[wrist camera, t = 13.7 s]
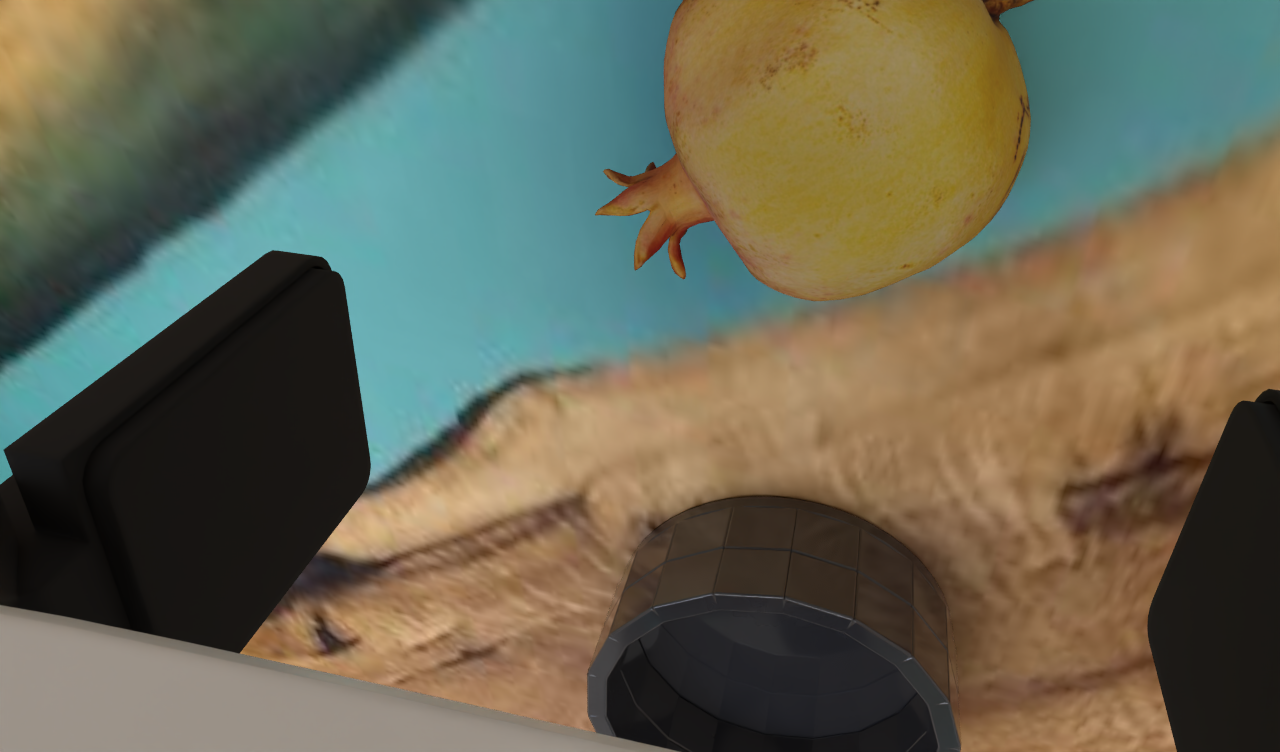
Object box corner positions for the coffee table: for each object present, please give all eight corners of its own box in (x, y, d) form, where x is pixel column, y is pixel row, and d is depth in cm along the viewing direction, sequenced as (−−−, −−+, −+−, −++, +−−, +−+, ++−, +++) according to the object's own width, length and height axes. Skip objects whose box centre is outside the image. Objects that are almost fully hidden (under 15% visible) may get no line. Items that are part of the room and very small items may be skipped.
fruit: (1026, -284, 13) (460, 97, 17) (1232, 191, 14) (645, 439, 18) (1020, -183, 19) (604, 79, 23) (1164, 141, 20) (737, 336, 24)
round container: (987, 527, 27) (997, 636, 24) (919, 764, 32) (920, 879, 29) (622, 468, 29) (585, 561, 25) (618, 702, 34) (587, 804, 31)
